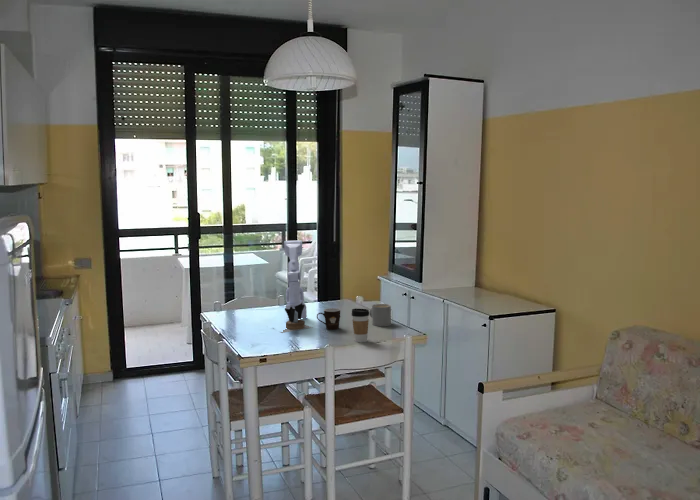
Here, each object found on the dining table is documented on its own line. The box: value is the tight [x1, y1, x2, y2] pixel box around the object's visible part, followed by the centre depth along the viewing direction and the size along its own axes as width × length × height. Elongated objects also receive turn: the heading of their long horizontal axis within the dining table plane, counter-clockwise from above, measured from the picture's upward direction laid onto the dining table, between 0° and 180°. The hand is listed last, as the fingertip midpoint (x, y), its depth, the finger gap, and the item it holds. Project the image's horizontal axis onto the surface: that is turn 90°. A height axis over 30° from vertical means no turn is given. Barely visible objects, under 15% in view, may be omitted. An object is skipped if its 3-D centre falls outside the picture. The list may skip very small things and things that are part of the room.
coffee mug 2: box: [369, 303, 392, 327], centre depth 305 cm, size 13×10×10 cm
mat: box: [280, 324, 314, 334], centre depth 301 cm, size 18×18×1 cm
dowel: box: [292, 312, 298, 323], centre depth 300 cm, size 3×3×8 cm
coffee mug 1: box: [316, 307, 341, 331], centre depth 296 cm, size 12×9×10 cm
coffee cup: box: [351, 308, 370, 343], centre depth 271 cm, size 8×8×15 cm
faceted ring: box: [285, 319, 306, 331], centre depth 300 cm, size 9×9×3 cm
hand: (295, 320), depth 300 cm, fingers open, 7 cm apart
